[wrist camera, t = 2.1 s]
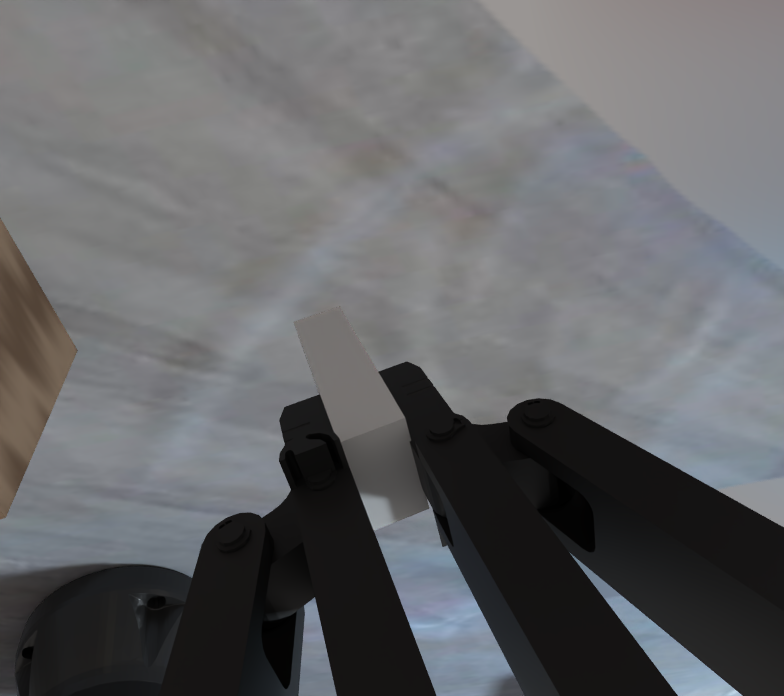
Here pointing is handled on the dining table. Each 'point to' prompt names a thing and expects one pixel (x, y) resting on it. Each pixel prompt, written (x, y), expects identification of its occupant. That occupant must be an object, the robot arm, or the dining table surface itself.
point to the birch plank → (25, 365)
